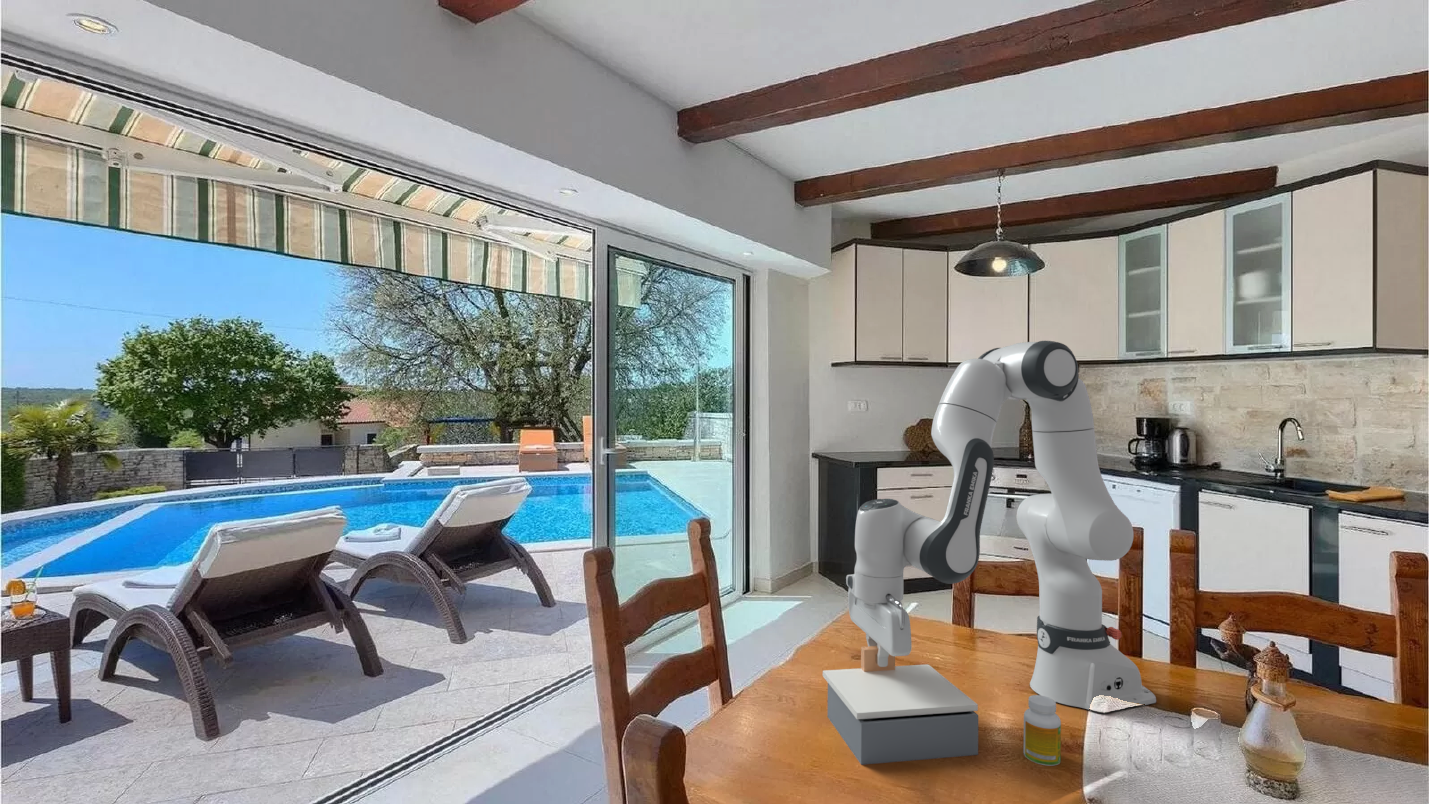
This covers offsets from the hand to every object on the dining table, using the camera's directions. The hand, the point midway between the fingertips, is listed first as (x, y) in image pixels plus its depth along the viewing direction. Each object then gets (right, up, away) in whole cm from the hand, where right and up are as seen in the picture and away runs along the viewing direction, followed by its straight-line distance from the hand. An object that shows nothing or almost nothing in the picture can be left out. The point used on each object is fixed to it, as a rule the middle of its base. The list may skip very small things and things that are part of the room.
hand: (878, 662), depth 122 cm
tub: (+1, -10, -9) cm, 13 cm away
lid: (+1, -2, -8) cm, 8 cm away
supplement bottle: (+23, -10, -15) cm, 29 cm away
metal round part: (-4, -9, -7) cm, 12 cm away
